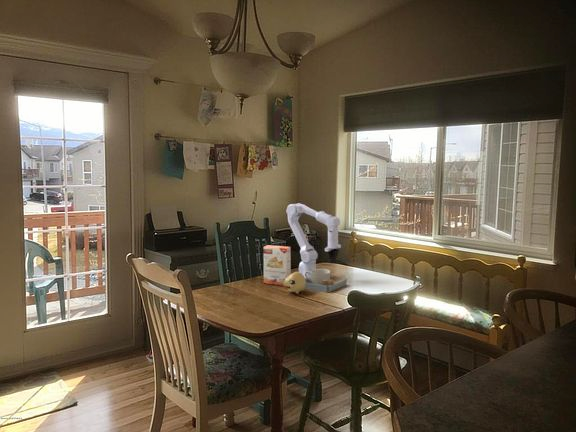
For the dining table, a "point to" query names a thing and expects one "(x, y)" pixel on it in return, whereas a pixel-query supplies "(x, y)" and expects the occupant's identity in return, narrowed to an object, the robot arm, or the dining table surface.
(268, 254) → the cracker box
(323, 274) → the teacup
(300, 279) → the yellow lumpy rounded piece
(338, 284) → the gray open frame
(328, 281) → the walnut block
